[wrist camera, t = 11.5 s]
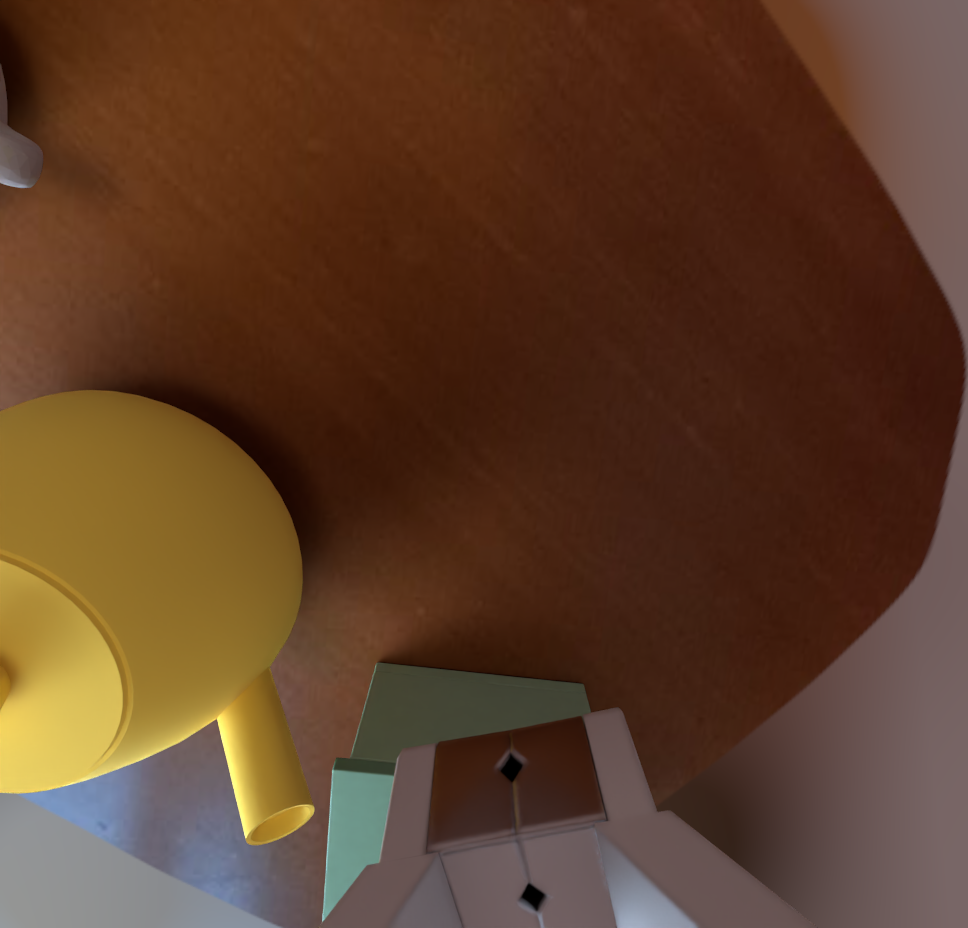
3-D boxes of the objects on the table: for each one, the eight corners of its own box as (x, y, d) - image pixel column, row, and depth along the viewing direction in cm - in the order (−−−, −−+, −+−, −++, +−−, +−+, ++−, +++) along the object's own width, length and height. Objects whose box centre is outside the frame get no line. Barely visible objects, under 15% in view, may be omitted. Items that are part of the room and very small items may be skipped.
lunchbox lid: (325, 916, 28) (321, 931, 27) (336, 756, 25) (332, 769, 24) (573, 938, 28) (576, 953, 28) (610, 783, 26) (614, 797, 25)
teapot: (450, 581, 30) (428, 804, 17) (266, 754, 33) (126, 1057, 20) (129, 305, 26) (-228, 320, 13) (-47, 533, 29) (-480, 732, 16)
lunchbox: (364, 798, 34) (337, 917, 28) (376, 661, 32) (350, 757, 25) (555, 816, 35) (573, 937, 28) (583, 683, 32) (610, 783, 26)
